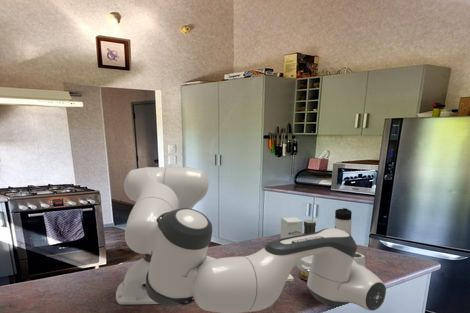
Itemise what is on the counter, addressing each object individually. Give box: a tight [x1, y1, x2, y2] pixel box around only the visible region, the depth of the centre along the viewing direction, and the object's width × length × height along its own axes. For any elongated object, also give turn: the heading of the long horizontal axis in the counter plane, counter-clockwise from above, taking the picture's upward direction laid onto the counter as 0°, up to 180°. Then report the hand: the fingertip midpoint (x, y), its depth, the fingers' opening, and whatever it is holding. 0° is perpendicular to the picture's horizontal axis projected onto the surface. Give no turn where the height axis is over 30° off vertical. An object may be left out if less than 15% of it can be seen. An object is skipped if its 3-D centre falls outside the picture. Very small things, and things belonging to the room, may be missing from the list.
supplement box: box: [280, 216, 304, 239], centre depth 132 cm, size 7×7×13 cm
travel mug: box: [334, 207, 353, 236], centre depth 120 cm, size 6×7×20 cm
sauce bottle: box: [299, 219, 317, 282], centre depth 103 cm, size 6×6×20 cm
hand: (315, 250), depth 100 cm, fingers open, 8 cm apart
